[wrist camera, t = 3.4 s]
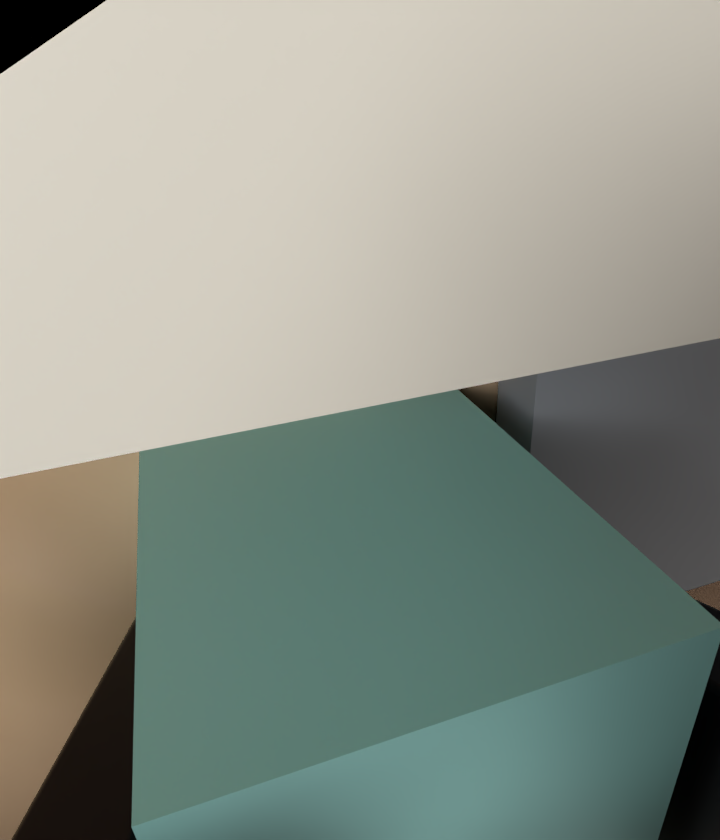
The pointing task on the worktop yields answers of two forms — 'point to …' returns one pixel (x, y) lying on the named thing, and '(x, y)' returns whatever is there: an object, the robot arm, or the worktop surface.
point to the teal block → (399, 640)
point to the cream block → (341, 207)
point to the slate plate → (634, 448)
